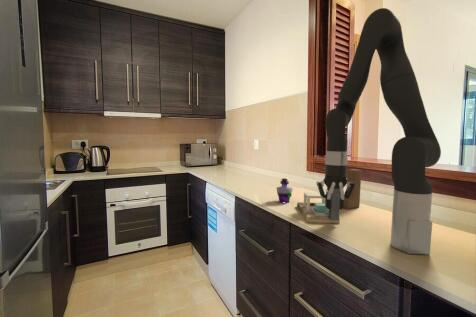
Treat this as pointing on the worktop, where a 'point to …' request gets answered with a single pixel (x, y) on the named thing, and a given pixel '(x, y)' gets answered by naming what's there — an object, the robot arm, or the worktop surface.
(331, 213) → the grey angular piece
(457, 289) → the worktop surface
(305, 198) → the cream open box
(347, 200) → the wooden block
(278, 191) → the potion bottle
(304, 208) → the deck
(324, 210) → the block
